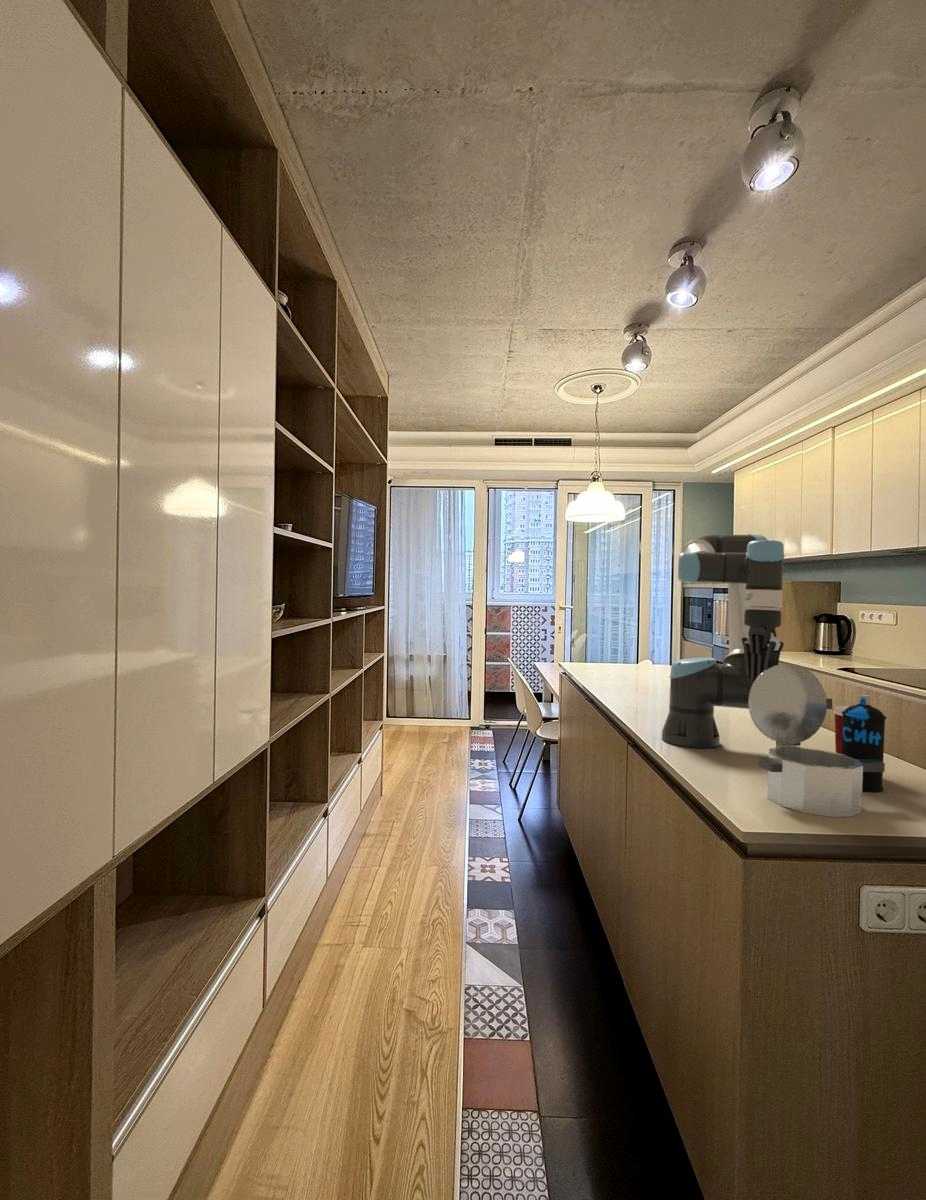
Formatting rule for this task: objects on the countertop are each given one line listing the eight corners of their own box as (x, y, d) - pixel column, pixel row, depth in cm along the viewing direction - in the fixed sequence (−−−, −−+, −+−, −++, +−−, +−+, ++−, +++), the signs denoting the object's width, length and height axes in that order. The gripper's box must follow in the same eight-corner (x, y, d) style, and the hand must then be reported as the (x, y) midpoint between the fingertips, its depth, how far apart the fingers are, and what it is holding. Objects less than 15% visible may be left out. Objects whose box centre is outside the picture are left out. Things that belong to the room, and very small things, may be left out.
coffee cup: (878, 778, 139) (881, 713, 139) (838, 774, 141) (841, 710, 141) (862, 767, 148) (864, 706, 147) (825, 765, 149) (827, 704, 149)
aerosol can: (844, 778, 139) (847, 690, 138) (887, 787, 133) (891, 696, 133) (834, 785, 133) (837, 694, 133) (878, 795, 127) (882, 700, 127)
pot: (738, 786, 130) (739, 744, 130) (844, 786, 132) (846, 745, 132) (788, 816, 113) (789, 768, 113) (910, 816, 115) (912, 769, 115)
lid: (751, 745, 129) (744, 743, 131) (836, 746, 130) (828, 744, 133) (750, 662, 130) (744, 662, 133) (834, 664, 131) (826, 664, 134)
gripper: (732, 607, 144) (728, 707, 144) (763, 609, 131) (759, 718, 131) (762, 608, 144) (758, 707, 144) (796, 610, 131) (792, 719, 131)
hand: (759, 712), depth 138 cm, fingers closed
